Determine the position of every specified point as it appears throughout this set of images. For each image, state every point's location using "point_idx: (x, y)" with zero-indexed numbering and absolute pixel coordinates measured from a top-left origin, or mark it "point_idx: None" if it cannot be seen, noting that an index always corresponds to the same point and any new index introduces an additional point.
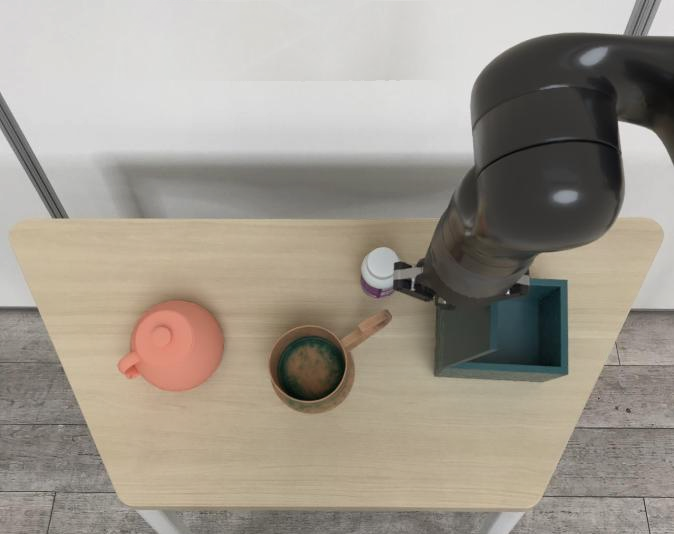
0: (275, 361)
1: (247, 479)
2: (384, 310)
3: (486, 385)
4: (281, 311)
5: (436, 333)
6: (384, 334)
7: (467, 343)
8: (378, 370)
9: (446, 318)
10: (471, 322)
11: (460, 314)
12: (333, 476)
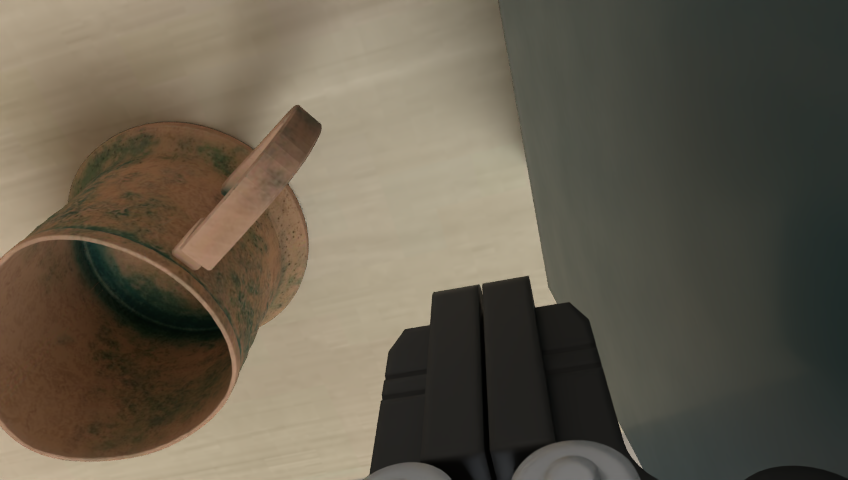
0: (46, 299)
1: (162, 476)
2: (261, 157)
3: None
4: (20, 94)
5: None
6: (348, 79)
7: (654, 447)
8: (365, 188)
9: (527, 126)
10: (671, 405)
11: (591, 229)
12: (341, 436)
